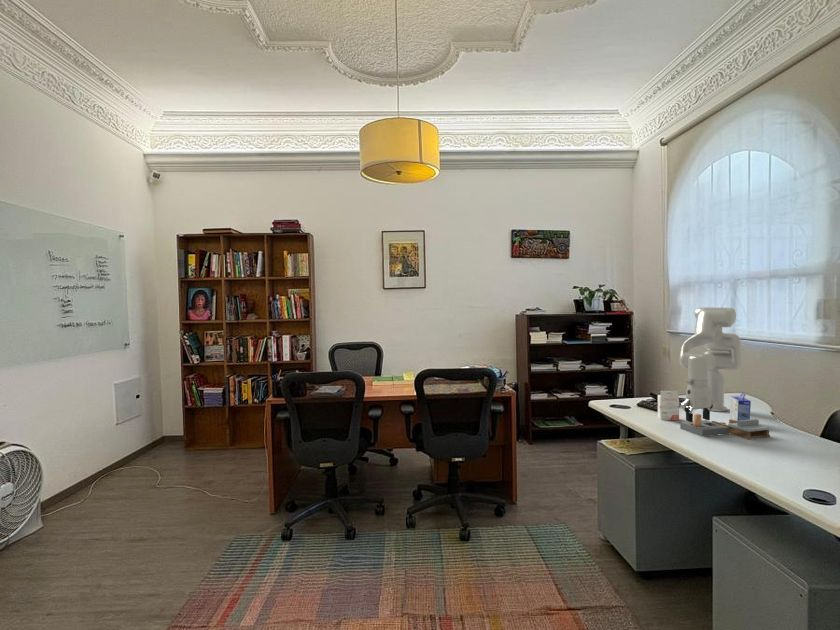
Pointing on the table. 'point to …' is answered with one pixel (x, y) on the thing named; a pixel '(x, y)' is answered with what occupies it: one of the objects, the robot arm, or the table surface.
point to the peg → (697, 420)
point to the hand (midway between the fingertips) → (697, 420)
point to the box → (743, 433)
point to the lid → (748, 425)
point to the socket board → (705, 428)
